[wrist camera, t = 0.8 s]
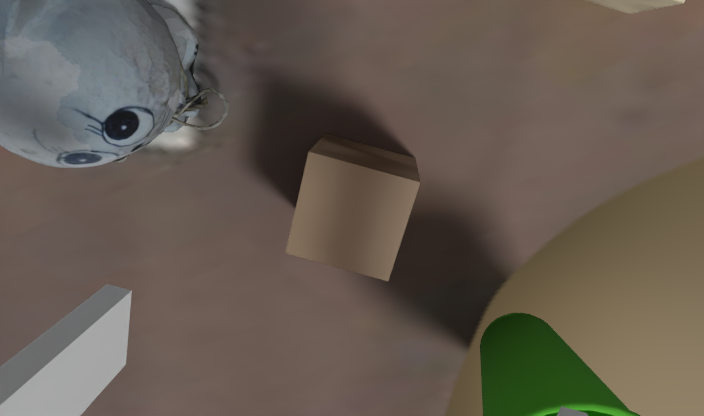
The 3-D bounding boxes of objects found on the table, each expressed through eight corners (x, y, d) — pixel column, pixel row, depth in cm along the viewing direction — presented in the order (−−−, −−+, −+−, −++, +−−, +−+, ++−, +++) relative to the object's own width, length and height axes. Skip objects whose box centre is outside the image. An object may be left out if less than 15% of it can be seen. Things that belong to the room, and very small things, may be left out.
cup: (535, 262, 30) (611, 371, 19) (606, 353, 31) (710, 498, 21) (428, 330, 32) (443, 459, 22) (499, 411, 34) (545, 566, 23)
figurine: (141, 166, 30) (-84, 261, 16) (62, 39, 28) (-281, 18, 14) (262, 105, 28) (128, 151, 14) (188, -39, 26) (-65, -159, 12)
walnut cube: (305, 216, 30) (285, 253, 25) (325, 133, 28) (308, 151, 23) (389, 239, 30) (388, 281, 25) (415, 157, 28) (420, 182, 23)
